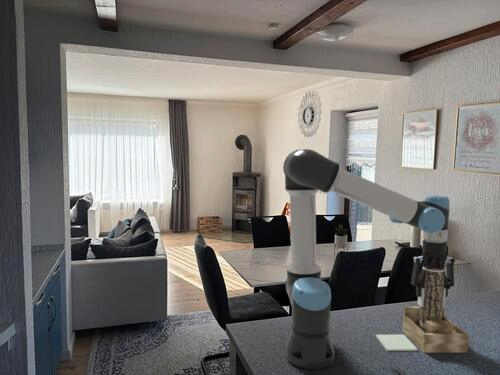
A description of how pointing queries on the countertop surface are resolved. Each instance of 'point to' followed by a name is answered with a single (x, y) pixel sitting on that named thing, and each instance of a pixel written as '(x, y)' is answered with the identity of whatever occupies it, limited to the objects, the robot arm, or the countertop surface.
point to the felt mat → (396, 343)
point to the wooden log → (432, 297)
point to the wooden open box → (433, 334)
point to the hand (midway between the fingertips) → (431, 305)
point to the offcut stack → (439, 327)
